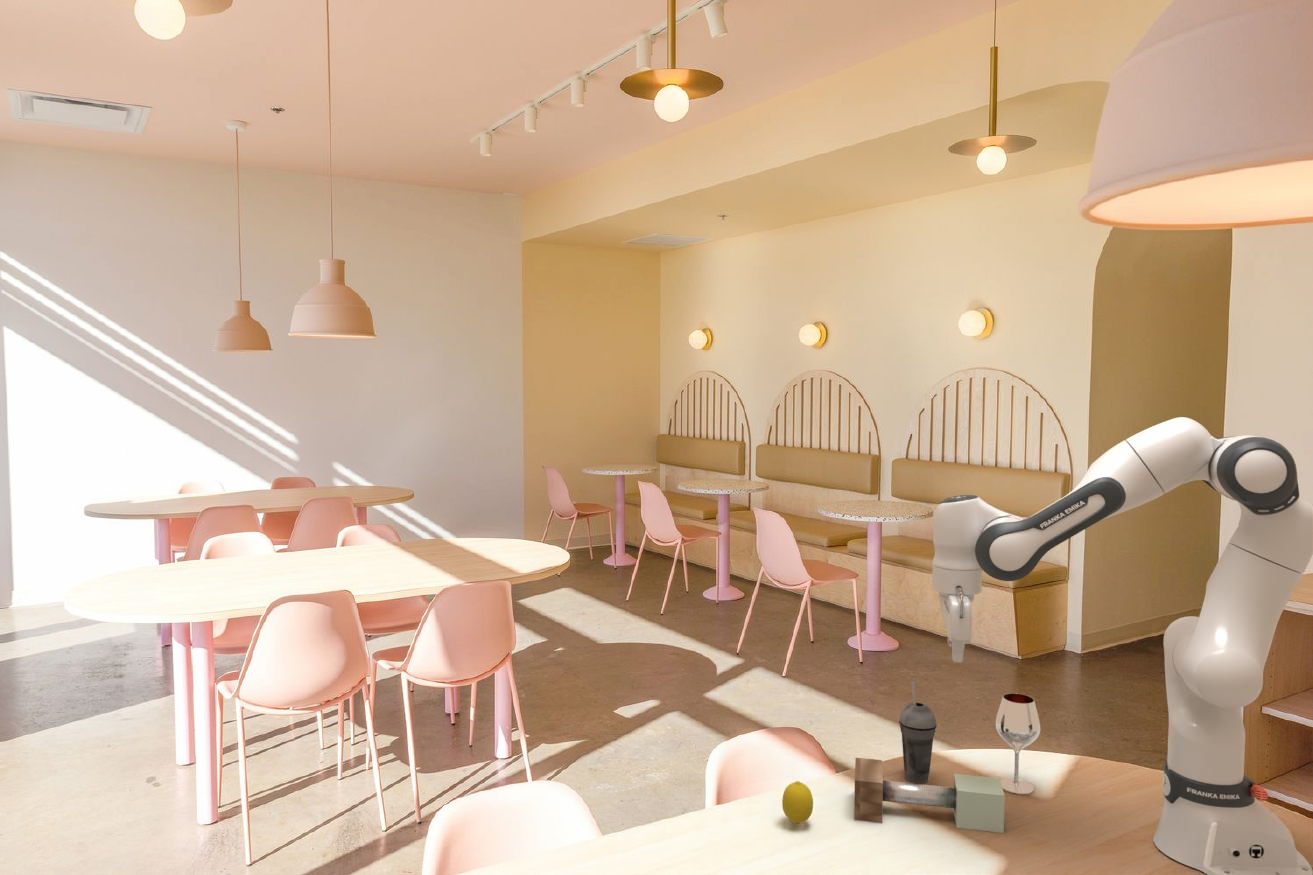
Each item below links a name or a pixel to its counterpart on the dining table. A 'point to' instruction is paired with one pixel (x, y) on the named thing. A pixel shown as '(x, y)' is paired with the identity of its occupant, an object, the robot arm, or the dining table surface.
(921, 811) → the dining table surface
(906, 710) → the beverage cup
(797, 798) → the lemon
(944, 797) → the tube
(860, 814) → the socket
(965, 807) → the sage green block
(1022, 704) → the wineglass
